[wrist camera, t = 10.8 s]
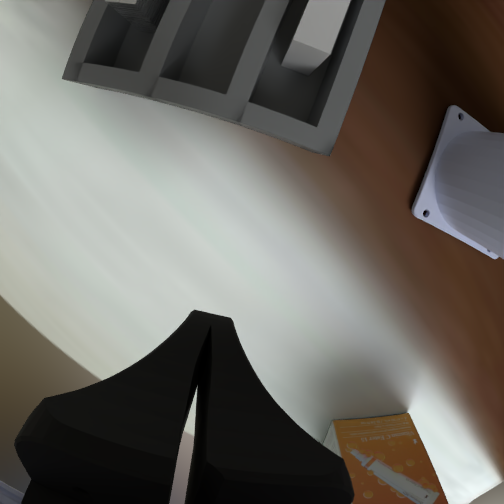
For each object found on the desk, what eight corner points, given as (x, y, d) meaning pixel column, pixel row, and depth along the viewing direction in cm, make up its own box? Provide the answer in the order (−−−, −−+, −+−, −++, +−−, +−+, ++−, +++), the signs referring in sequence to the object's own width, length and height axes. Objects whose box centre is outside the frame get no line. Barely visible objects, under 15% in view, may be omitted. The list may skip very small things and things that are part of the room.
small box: (409, 410, 25) (457, 518, 13) (387, 448, 27) (420, 546, 15) (330, 418, 25) (360, 548, 13) (315, 456, 27) (333, 567, 15)
